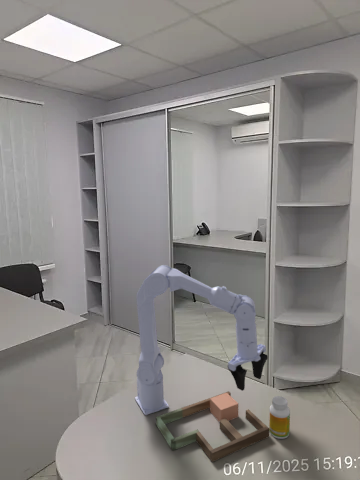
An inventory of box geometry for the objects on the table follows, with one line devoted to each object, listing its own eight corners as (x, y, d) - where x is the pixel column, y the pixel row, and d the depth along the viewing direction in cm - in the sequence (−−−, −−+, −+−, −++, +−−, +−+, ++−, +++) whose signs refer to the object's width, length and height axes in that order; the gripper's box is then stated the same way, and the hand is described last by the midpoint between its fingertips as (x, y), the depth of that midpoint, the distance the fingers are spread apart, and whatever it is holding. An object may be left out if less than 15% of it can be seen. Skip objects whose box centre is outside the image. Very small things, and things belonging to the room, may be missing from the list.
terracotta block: (210, 412, 105) (209, 398, 104) (226, 405, 108) (226, 392, 107) (221, 424, 100) (221, 410, 99) (238, 417, 102) (238, 403, 102)
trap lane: (156, 424, 100) (155, 416, 100) (228, 398, 111) (228, 391, 110) (187, 473, 83) (186, 464, 83) (269, 436, 94) (269, 428, 94)
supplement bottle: (290, 440, 92) (291, 407, 91) (269, 438, 94) (270, 405, 92) (288, 426, 98) (289, 395, 96) (268, 424, 99) (269, 393, 97)
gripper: (240, 353, 92) (243, 400, 94) (273, 334, 101) (275, 377, 103) (221, 345, 97) (224, 389, 99) (254, 328, 106) (256, 369, 108)
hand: (249, 383), depth 101 cm, fingers open, 7 cm apart
